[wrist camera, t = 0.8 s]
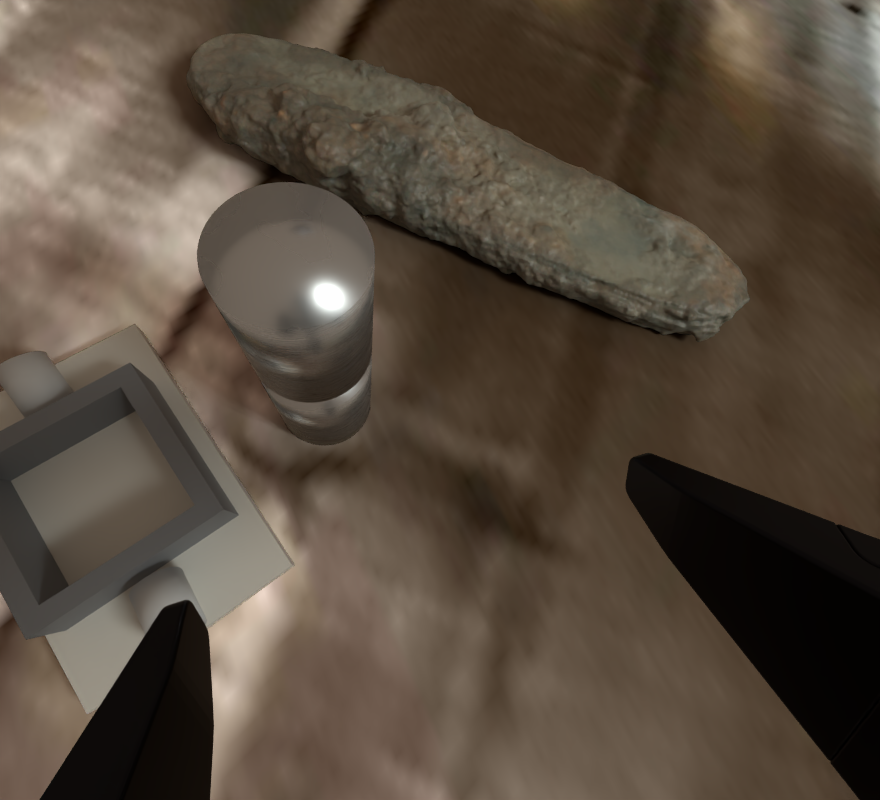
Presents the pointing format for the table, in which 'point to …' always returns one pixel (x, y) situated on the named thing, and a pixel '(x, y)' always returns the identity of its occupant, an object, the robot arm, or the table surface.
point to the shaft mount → (117, 508)
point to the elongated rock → (463, 182)
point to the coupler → (297, 301)
